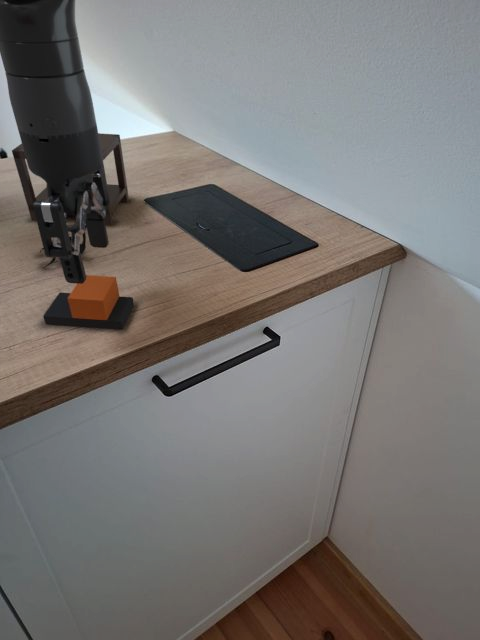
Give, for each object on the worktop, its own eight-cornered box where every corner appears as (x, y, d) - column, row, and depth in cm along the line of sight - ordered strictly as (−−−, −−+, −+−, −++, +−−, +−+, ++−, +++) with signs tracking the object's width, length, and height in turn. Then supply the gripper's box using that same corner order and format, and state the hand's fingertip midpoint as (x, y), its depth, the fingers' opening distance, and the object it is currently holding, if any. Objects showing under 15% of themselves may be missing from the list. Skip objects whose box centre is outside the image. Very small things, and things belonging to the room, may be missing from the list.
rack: (31, 221, 85) (11, 150, 77) (56, 196, 93) (40, 129, 85) (111, 226, 84) (99, 155, 76) (129, 200, 93) (119, 134, 85)
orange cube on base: (45, 325, 63) (36, 296, 60) (61, 301, 67) (54, 272, 64) (122, 330, 62) (117, 301, 59) (134, 306, 66) (129, 277, 64)
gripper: (48, 101, 55) (79, 234, 65) (-15, 141, 44) (34, 293, 54) (114, 104, 54) (134, 237, 65) (67, 145, 43) (101, 297, 54)
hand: (89, 263), depth 59 cm, fingers open, 8 cm apart
